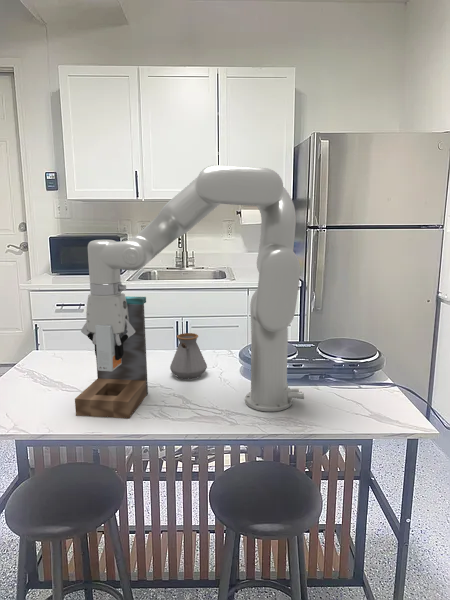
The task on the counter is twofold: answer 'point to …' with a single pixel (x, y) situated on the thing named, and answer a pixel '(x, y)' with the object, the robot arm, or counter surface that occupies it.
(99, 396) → the socket station
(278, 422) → the counter surface
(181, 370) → the coffee pot
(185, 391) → the counter surface
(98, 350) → the skincare box
